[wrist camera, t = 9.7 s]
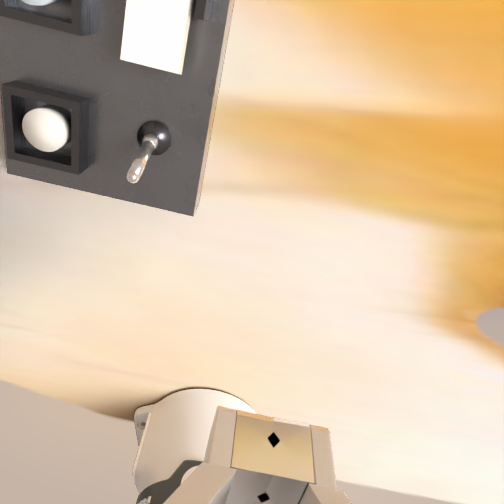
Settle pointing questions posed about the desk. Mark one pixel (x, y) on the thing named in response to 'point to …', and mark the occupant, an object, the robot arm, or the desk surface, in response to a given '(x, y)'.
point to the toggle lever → (142, 158)
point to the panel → (111, 99)
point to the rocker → (156, 33)
